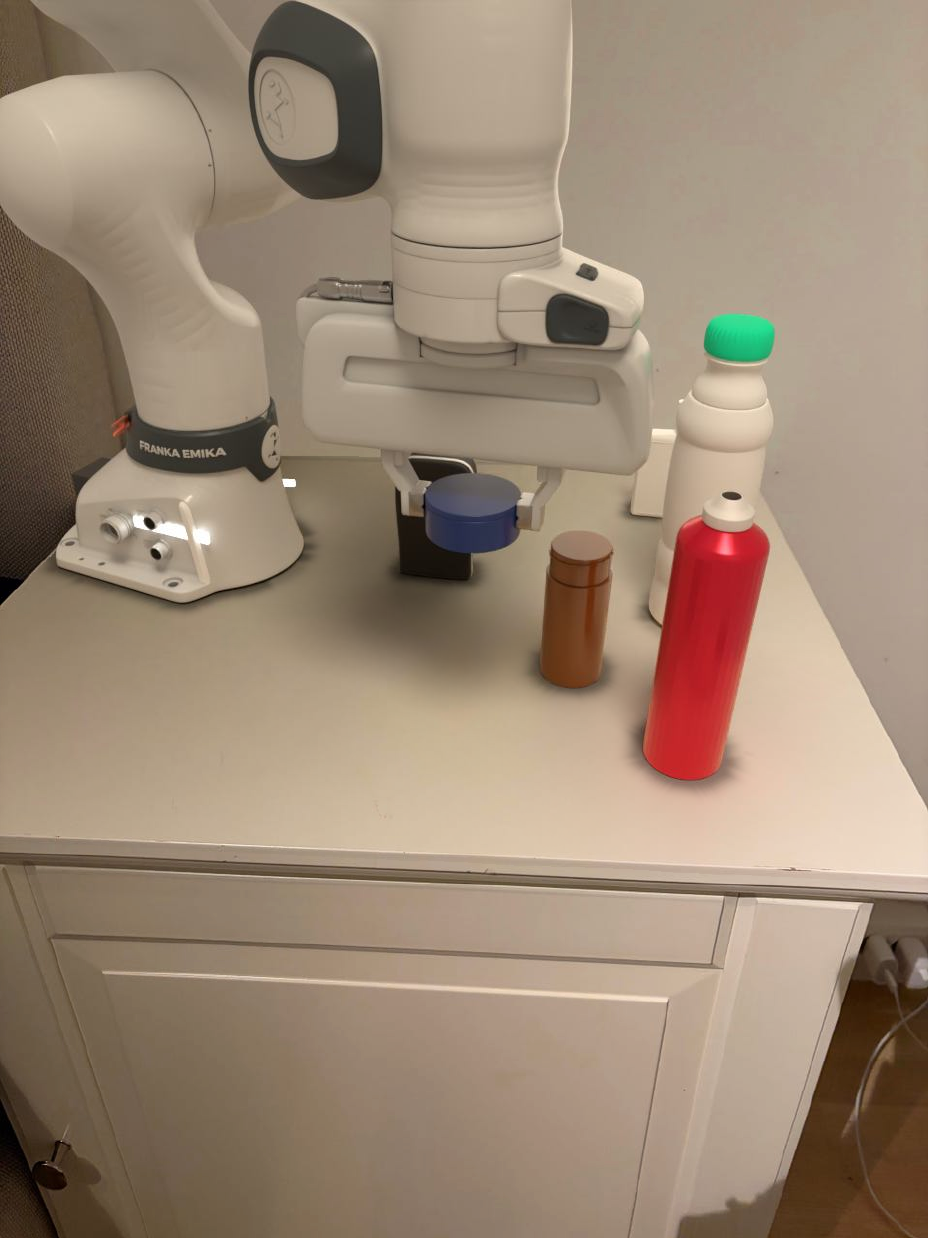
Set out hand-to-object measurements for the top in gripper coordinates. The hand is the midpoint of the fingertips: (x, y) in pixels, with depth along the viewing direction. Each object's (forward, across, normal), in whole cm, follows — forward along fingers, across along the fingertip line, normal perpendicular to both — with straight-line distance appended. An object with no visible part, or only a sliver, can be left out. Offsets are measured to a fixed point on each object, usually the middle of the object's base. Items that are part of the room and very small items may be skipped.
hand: (473, 519), depth 57 cm
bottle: (+17, +15, +2) cm, 23 cm away
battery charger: (+17, -8, +21) cm, 28 cm away
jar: (+17, +6, +9) cm, 20 cm away
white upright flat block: (+17, +12, +37) cm, 43 cm away
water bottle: (+17, +14, +19) cm, 30 cm away
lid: (-1, 0, 0) cm, 1 cm away
